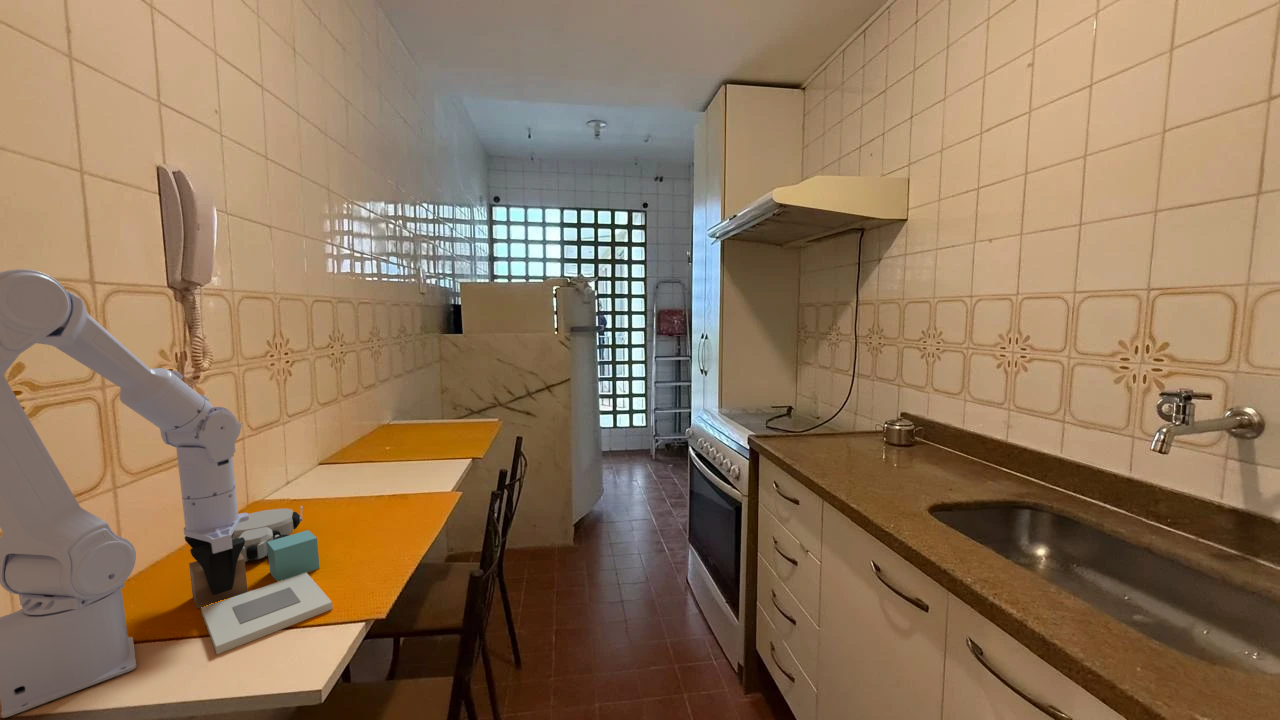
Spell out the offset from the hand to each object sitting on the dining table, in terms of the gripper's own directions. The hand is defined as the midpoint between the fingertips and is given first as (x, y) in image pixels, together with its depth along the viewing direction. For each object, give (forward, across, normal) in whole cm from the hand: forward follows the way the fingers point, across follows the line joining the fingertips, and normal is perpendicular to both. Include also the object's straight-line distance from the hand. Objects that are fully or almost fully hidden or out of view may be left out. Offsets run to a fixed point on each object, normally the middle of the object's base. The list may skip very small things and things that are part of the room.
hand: (219, 585), depth 72 cm
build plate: (+1, -10, -4) cm, 11 cm away
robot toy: (+2, +14, -7) cm, 16 cm away
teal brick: (+2, 0, -9) cm, 9 cm away
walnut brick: (+1, 0, 0) cm, 1 cm away
